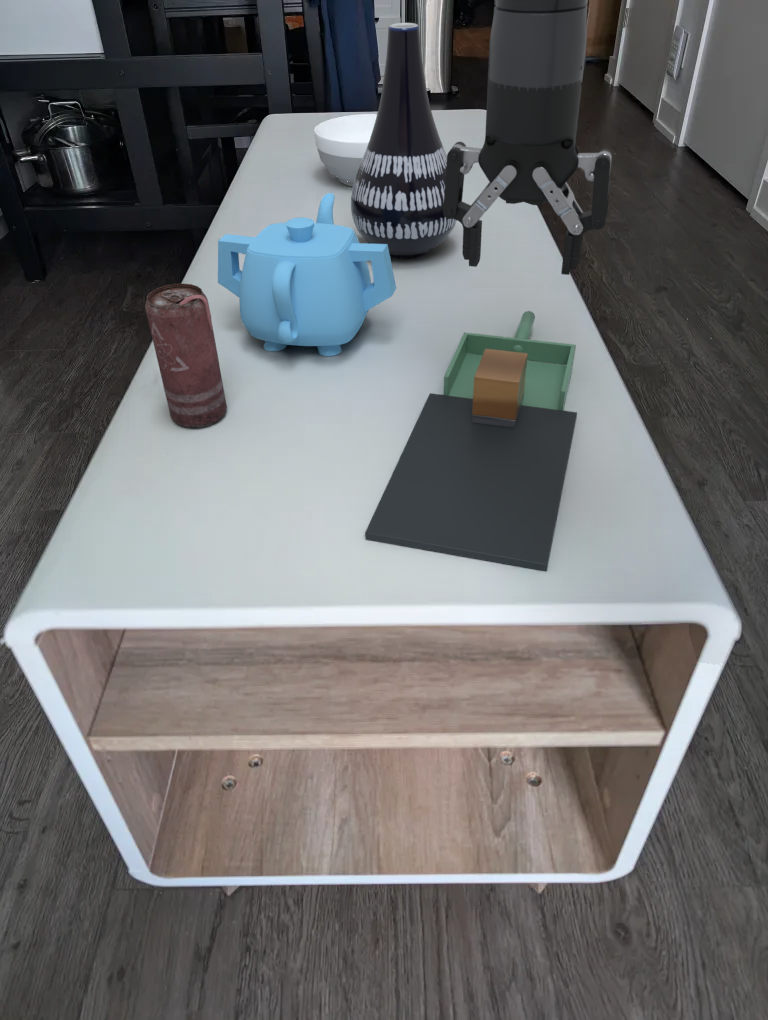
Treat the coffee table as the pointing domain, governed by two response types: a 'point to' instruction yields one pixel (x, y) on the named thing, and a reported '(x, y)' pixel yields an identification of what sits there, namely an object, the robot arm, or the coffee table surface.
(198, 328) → the can
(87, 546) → the coffee table surface
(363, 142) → the bowl
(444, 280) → the coffee table surface
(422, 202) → the vase
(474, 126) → the coffee table surface
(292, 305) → the teapot
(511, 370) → the eraser
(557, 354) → the dustpan
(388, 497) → the slate
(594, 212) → the robot arm
